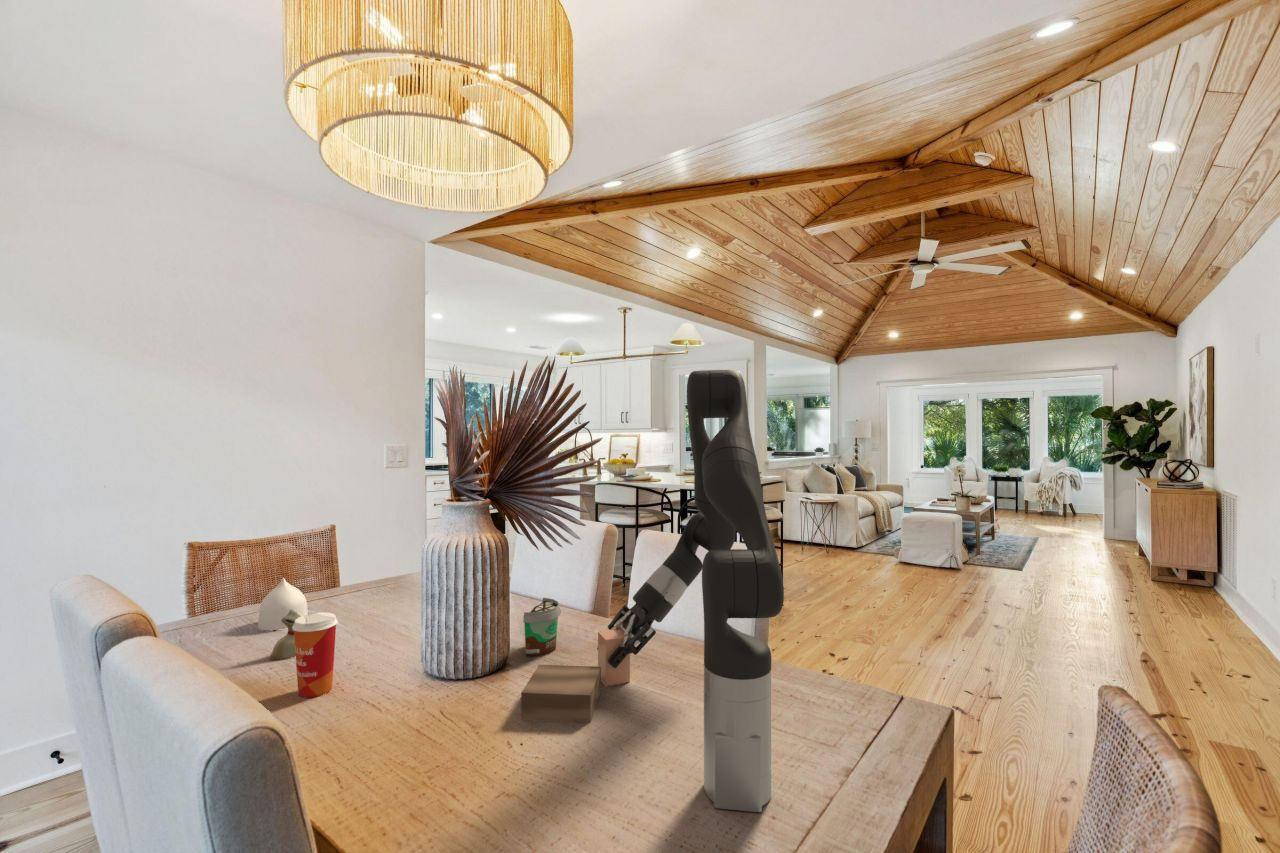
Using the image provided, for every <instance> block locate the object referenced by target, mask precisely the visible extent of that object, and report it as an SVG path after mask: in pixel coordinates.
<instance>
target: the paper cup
mask: <svg viewBox="0 0 1280 853" xmlns="http://www.w3.org/2000/svg"><path fill="white" fill-rule="evenodd" d="M338 623H339V621H338V619H337V617H336V614H334V613H332V612H315V614H313V613H311V614H308V615H306V616H305V617H304V616H301V617H299V618H297V619H296V620H295V622H294V625H293V627H292V630H294V638H295V653H296V657H295V664H296V665H295V666H296V667H295V668H296V678H297V679H296V680H297V681H296V682H297V692H298V696H299V697H300V696H301V698H303V697H306V698H305V699H311V698H310V697H313V698H317V697H316V696H318V697H321V696H320V695H322V696H324V695H326V694H325V693H327V692H328V693H330V692H331V691H332V688H333V678H334V666H335V665H334V664H335V663H334V662H335V649H336V648H335V647H336V630H337V624H338ZM330 690H331V691H330ZM329 691H330V692H329ZM328 693H327V694H328ZM323 694H324V695H323Z"/></svg>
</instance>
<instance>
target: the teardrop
mask: <svg viewBox="0 0 1280 853" xmlns="http://www.w3.org/2000/svg"><path fill="white" fill-rule="evenodd" d="M258 609H259V610H258V622H257V628H259V629H258V630H260V629H261V630H260V631H263V630H279V629H285V628H288V627H287V626H286V625H285V624H284V623H282V621H281V620H282V618H283V617H285V616H286V615H287V614H288V613H289V611H290V610H291V609H292V610H294V611H295V612H297V613H298V614H299V615H300V616H304V617H305V616H306V615H309V614H308V602H307V599H306V596H305V595H304V593H303V592H302V591H301V590H300V589H299V588H297V587H295V586H294V585H292V584H290V583H289V582H287V580H286V579H285V576H283V577H282V579H281V581H280V583H278V585H277V586H276V587H273V589H272V590H270V592H269V593H267V594H266V596H265V597H264V598H263V600H262V601H261V603H260V605H259V608H258ZM279 631H280V630H279Z"/></svg>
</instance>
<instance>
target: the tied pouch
mask: <svg viewBox="0 0 1280 853" xmlns="http://www.w3.org/2000/svg"><path fill="white" fill-rule="evenodd" d="M299 617H301V616H300V615H299V614H298V613H297V612H295V611H294V610H292V609H291V610H290V611H289V613H288V614H287V615H286V616H285V617H283V618H282V620H281V621H282V623H284V624H285V625H286V626H287V627H288V629H287V633H286V634H285V636H283V637H282V638H280V639H278V640H277V641H276V643H275V645H274V646H273V649H272V650H271V653H270V655H269V660H270V661H275V659H276V660H277V661H279V660H280V659H282V660H286V659H287V658H288V659H292V658H291V657H293V658H296V657H295V656H296V653H295V638H294V630H292V627H293V625H294V622H295V620H296V619H297V618H299ZM288 659H287V660H288Z"/></svg>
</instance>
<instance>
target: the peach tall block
mask: <svg viewBox="0 0 1280 853" xmlns="http://www.w3.org/2000/svg"><path fill="white" fill-rule="evenodd" d="M624 632H625V631H623V630H622V629H615V630H609V629H608V630H601V631H597V648H598V650H597V662H598V663H597V667H601V680H602V681H601V683H602V684H603V685H604V684H605V685H604V686H605V687H609V686H608V685H611V686H615V685H614V684H617V685H620V684H619V683H623V684H627V683H626V682H629V683H631V654H628V655H627V656H626V657H625V658H624V659H623V661H622V662H621V663H620V664H619V665H618V667H617V668H613V667H612V666H611V665H610V664H609V663H608V659H609V658H610V656H611V655H612V654H613V653H614V652H615V650H616V649H617V648H618V647H619V646H620V647H621V643H622V641H623V639H624V637H625V636H624ZM629 641H630V640H629ZM629 641H628V642H629Z"/></svg>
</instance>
